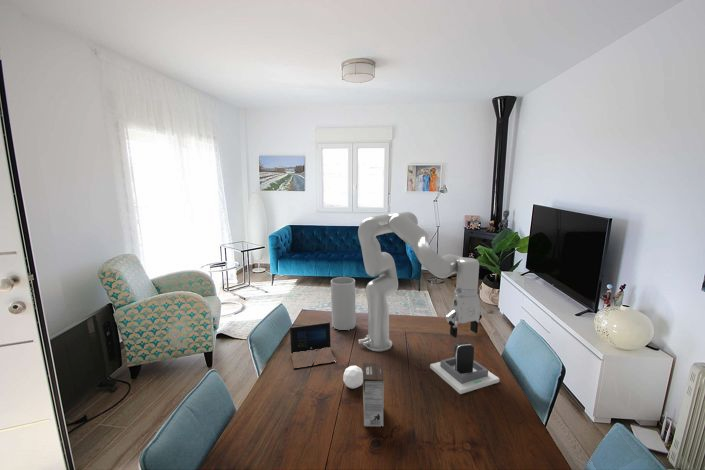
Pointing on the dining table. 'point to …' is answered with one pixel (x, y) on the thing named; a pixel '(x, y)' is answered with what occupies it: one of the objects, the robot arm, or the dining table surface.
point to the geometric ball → (353, 377)
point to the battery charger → (464, 357)
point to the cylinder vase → (343, 303)
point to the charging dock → (464, 376)
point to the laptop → (310, 337)
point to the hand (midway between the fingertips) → (463, 333)
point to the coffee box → (373, 394)
